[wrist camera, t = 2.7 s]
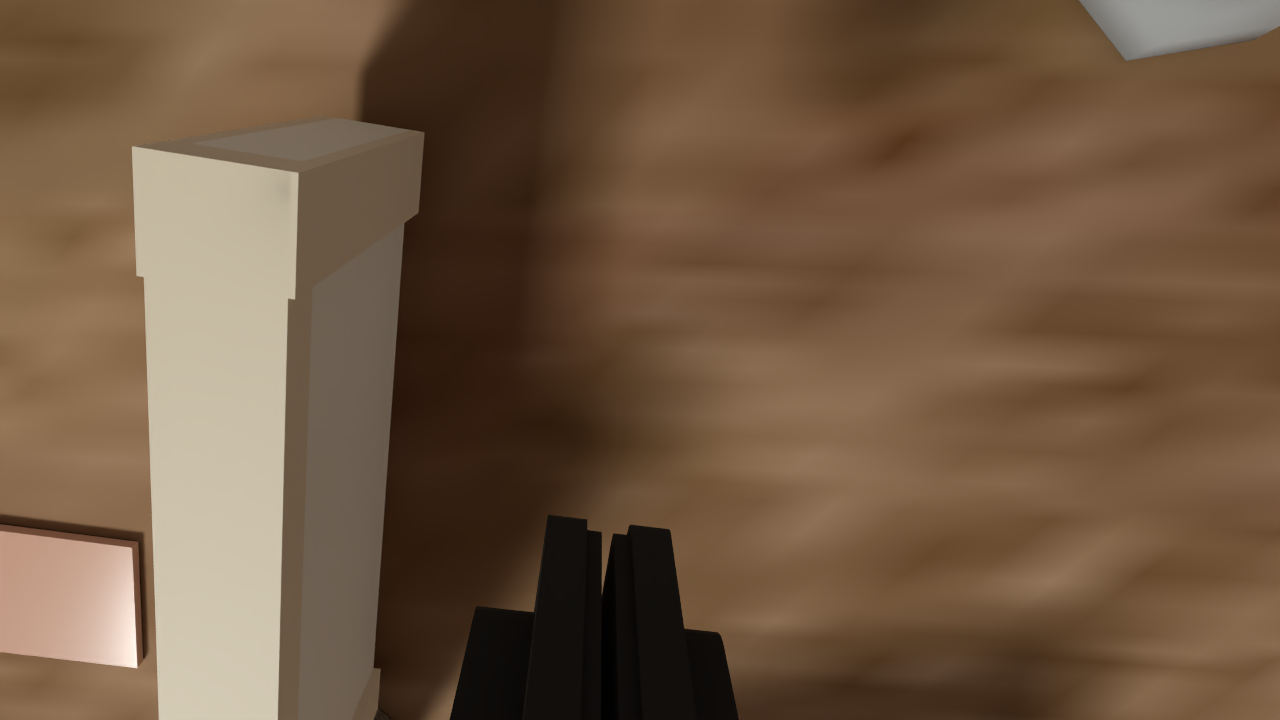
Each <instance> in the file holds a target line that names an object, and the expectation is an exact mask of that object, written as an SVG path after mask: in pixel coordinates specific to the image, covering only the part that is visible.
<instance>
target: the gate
mask: <svg viewBox="0 0 1280 720" xmlns="http://www.w3.org/2000/svg"><path fill="white" fill-rule="evenodd" d="M424 133H425V132H420V131H414V130H408V129H402V128H396V127H390V126H384V125H378V124H371V123H365V122H359V121H353V120H347V119H341V118H335V117H329V116H318V117H312V118H306V119H300V120H293V121H287V122H281V123H275V124H268V125H262V126H256V127H250V128H243V129H237V130H231V131H225V132H218V133H212V134H206V135H199V136H193V137H187V138H181V139H174V140H168V141H162V142H156V143H149V144H143V145H137V146H132V160H133V187H134V214H135V242H136V269H137V276H141V277H144V290H145V320H146V349H147V379H148V408H149V438H150V467H151V497H152V526H153V556H154V585H155V615H156V644H157V674H158V703H159V720H374V717H375V715H376V712H377V710H378V699H379V685H380V671H381V669H377V668H373V667H374V652H375V638H376V624H377V609H378V595H379V581H380V566H381V552H382V538H383V523H384V509H385V494H386V480H387V466H388V451H389V437H390V423H391V408H392V394H393V380H394V365H395V351H396V337H397V322H398V308H399V294H400V279H401V265H402V250H403V236H404V223H405V222H406V221H408V220H409V219H411V218H412V217H413V216H415V215H416V214H418V213H419V200H420V186H421V173H422V160H423V146H424Z"/></svg>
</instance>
